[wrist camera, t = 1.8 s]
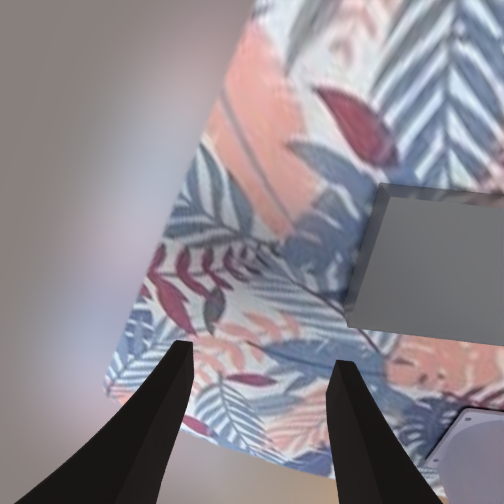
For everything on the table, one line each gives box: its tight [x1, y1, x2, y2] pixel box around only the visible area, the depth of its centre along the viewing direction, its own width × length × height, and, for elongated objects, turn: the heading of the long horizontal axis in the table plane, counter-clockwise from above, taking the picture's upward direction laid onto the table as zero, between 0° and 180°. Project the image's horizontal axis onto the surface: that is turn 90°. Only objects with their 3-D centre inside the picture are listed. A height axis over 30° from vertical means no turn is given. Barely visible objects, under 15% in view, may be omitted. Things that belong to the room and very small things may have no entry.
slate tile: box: [343, 183, 504, 346], centre depth 19 cm, size 9×12×2 cm
